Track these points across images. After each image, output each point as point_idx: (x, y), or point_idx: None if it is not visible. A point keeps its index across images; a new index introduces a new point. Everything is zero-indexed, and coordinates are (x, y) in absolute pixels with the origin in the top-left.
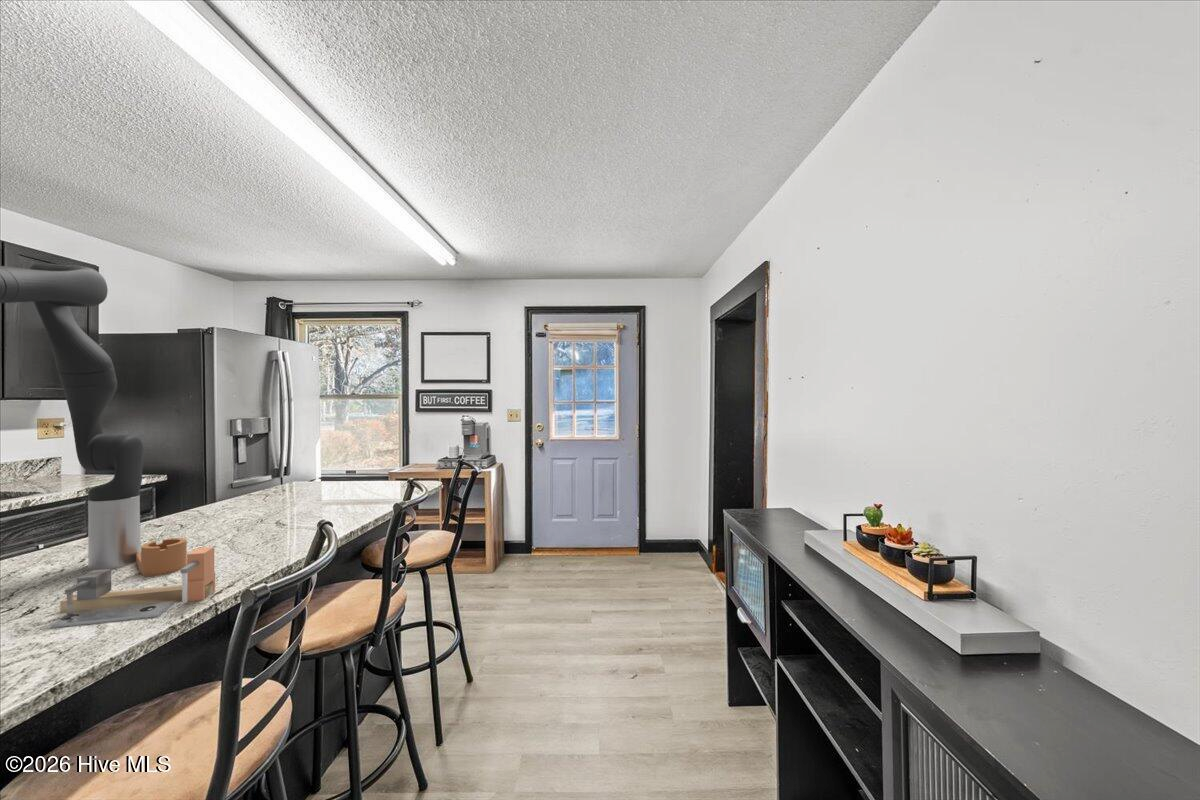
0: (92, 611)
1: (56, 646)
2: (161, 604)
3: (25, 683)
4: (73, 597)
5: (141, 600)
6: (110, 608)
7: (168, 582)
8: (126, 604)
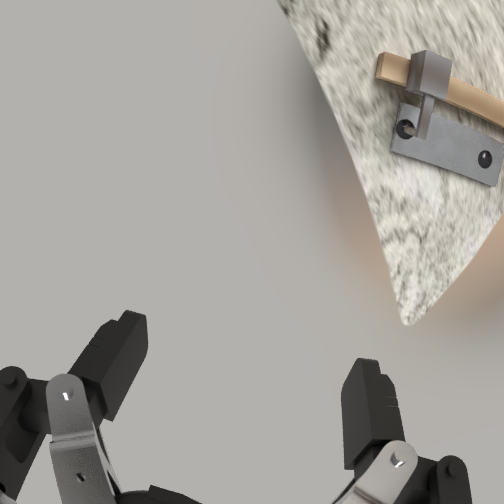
0: None
1: (412, 217)
2: (495, 151)
3: (406, 300)
4: (393, 67)
5: (473, 113)
6: (445, 123)
7: (470, 16)
8: (455, 105)
